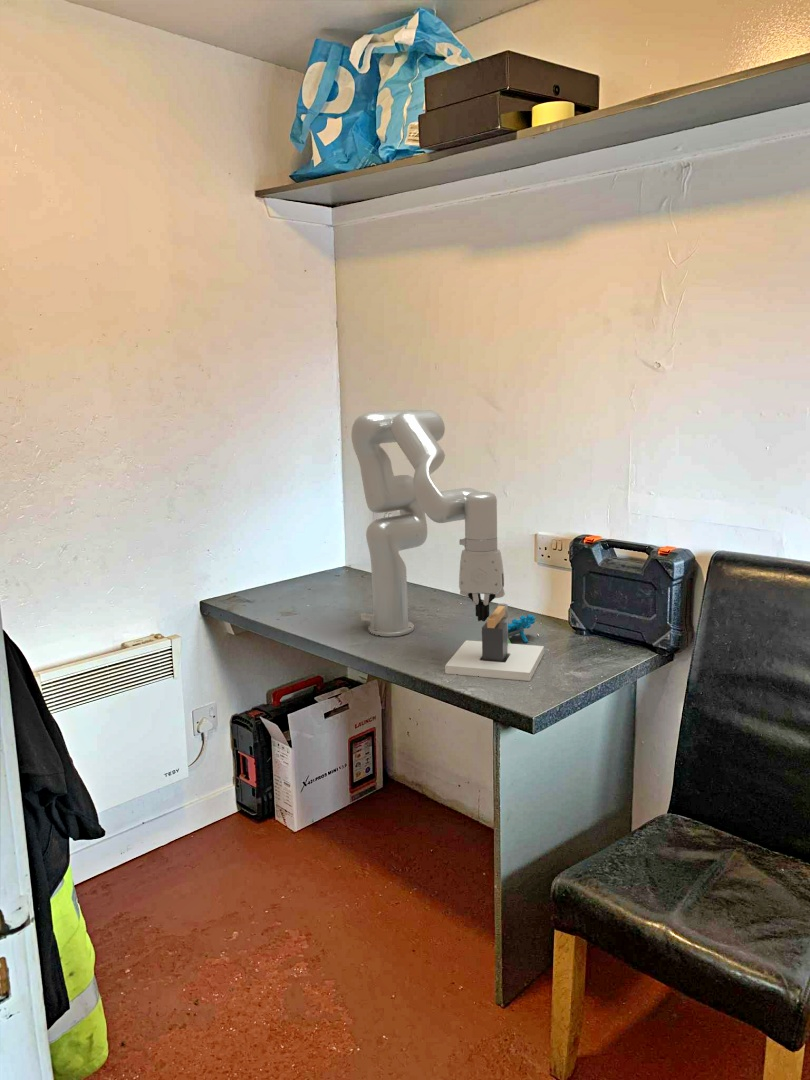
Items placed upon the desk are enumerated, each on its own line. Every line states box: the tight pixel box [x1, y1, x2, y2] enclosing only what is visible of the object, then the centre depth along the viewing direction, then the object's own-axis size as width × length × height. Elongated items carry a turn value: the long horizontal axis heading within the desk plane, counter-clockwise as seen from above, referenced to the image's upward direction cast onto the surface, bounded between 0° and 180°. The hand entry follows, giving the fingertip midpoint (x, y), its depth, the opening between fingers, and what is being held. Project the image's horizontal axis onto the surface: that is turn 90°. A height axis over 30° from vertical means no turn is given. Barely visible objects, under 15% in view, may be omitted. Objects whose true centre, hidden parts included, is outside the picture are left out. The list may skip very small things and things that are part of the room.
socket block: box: [444, 616, 545, 682], centre depth 198 cm, size 20×19×9 cm
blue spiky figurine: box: [508, 613, 537, 644], centre depth 214 cm, size 11×6×10 cm
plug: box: [481, 621, 507, 662], centre depth 197 cm, size 5×5×10 cm
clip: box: [486, 602, 509, 628], centre depth 199 cm, size 2×14×3 cm, turn 161°
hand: (482, 619), depth 197 cm, fingers closed
